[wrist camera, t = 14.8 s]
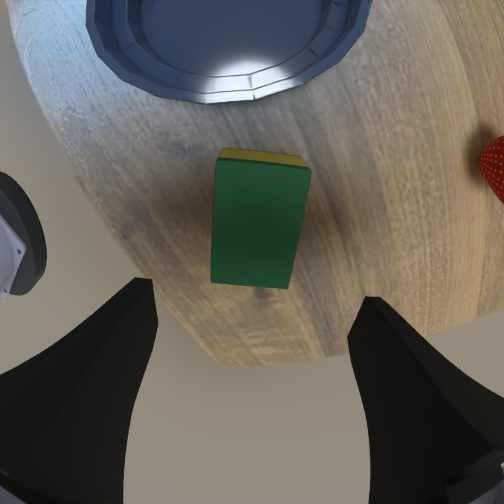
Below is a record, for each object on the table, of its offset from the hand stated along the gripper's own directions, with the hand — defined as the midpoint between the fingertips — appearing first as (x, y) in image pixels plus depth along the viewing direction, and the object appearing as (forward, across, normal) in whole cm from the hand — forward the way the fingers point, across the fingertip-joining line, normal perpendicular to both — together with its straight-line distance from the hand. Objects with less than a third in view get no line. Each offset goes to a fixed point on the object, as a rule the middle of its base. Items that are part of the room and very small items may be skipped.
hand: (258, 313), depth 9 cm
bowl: (+9, +3, -13) cm, 16 cm away
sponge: (+9, 0, 0) cm, 9 cm away
